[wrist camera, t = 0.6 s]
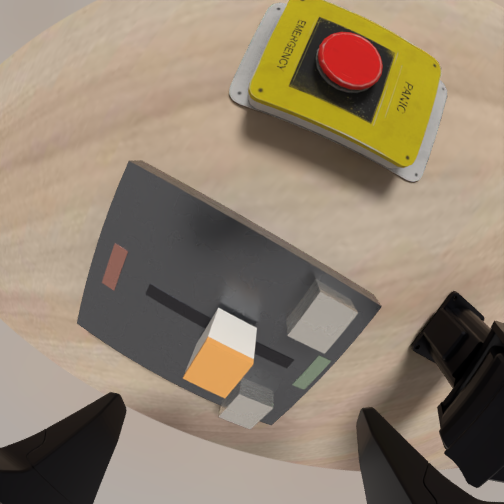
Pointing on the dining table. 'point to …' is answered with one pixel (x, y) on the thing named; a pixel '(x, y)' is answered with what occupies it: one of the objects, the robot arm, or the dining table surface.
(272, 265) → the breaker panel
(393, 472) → the robot arm
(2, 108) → the dining table surface
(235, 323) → the block
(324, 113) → the emergency button
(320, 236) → the dining table surface
